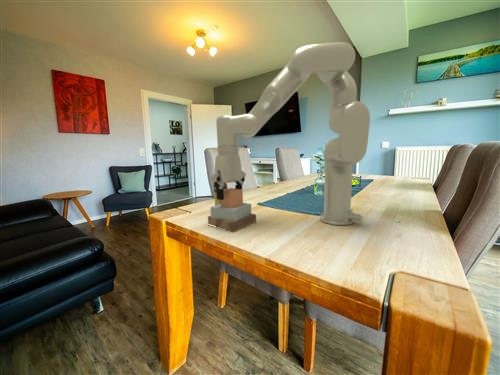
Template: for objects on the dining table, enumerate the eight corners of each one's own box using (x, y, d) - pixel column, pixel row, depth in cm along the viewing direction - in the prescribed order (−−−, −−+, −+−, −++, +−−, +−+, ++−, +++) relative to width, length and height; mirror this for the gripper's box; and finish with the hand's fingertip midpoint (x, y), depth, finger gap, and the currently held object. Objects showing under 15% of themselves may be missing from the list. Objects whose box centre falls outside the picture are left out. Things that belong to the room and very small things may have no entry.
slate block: (251, 213, 85) (251, 203, 84) (235, 221, 76) (234, 210, 75) (228, 210, 91) (228, 201, 90) (211, 217, 81) (210, 207, 81)
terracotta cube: (243, 204, 83) (242, 189, 82) (231, 208, 78) (230, 191, 77) (232, 202, 87) (231, 188, 86) (220, 206, 82) (219, 190, 81)
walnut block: (256, 224, 85) (255, 214, 84) (232, 234, 75) (231, 223, 74) (232, 218, 93) (232, 209, 92) (208, 226, 83) (207, 216, 83)
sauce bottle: (230, 211, 101) (229, 169, 98) (228, 215, 95) (226, 170, 92) (217, 211, 102) (214, 169, 99) (213, 215, 96) (211, 170, 93)
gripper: (237, 151, 88) (238, 192, 91) (202, 151, 75) (205, 200, 78) (251, 150, 83) (252, 194, 86) (216, 151, 70) (219, 202, 73)
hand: (230, 197), depth 82 cm, fingers open, 9 cm apart
